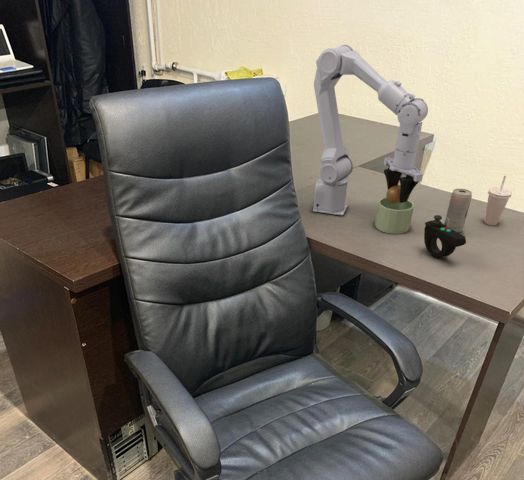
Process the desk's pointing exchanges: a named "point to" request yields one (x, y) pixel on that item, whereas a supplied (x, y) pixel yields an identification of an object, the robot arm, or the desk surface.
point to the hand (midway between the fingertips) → (397, 198)
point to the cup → (393, 216)
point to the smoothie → (496, 203)
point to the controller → (441, 238)
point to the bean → (394, 195)
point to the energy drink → (458, 209)
